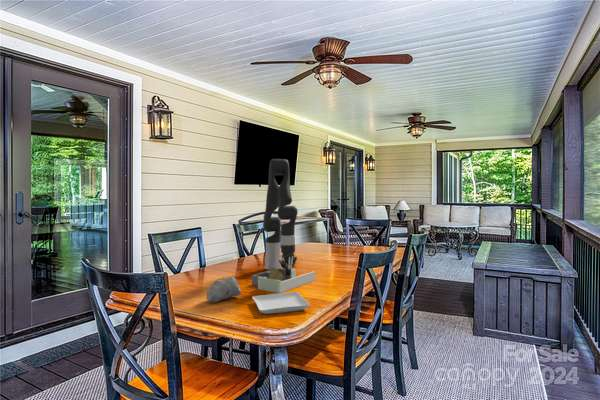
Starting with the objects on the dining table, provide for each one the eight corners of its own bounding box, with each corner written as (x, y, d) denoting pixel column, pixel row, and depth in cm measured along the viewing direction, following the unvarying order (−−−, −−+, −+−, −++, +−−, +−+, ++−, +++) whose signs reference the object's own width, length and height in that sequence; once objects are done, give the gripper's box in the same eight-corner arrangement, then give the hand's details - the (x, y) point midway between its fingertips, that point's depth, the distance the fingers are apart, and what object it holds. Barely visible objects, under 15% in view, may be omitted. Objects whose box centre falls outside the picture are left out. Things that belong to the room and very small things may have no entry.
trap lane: (245, 286, 198) (245, 275, 198) (282, 275, 223) (282, 265, 223) (279, 293, 184) (279, 280, 184) (315, 280, 209) (315, 269, 209)
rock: (291, 280, 200) (274, 276, 204) (289, 269, 195) (272, 266, 199) (284, 296, 193) (266, 292, 196) (281, 286, 188) (263, 282, 191)
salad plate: (259, 318, 149) (259, 309, 149) (251, 303, 170) (251, 295, 170) (311, 312, 155) (310, 304, 155) (297, 298, 175) (297, 291, 175)
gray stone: (206, 306, 165) (206, 283, 164) (205, 297, 179) (205, 276, 179) (243, 302, 169) (243, 280, 169) (239, 294, 183) (239, 273, 183)
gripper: (290, 241, 209) (290, 273, 209) (274, 244, 198) (274, 277, 199) (301, 242, 204) (301, 274, 205) (285, 245, 194) (286, 279, 194)
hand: (288, 276), depth 202 cm, fingers closed
